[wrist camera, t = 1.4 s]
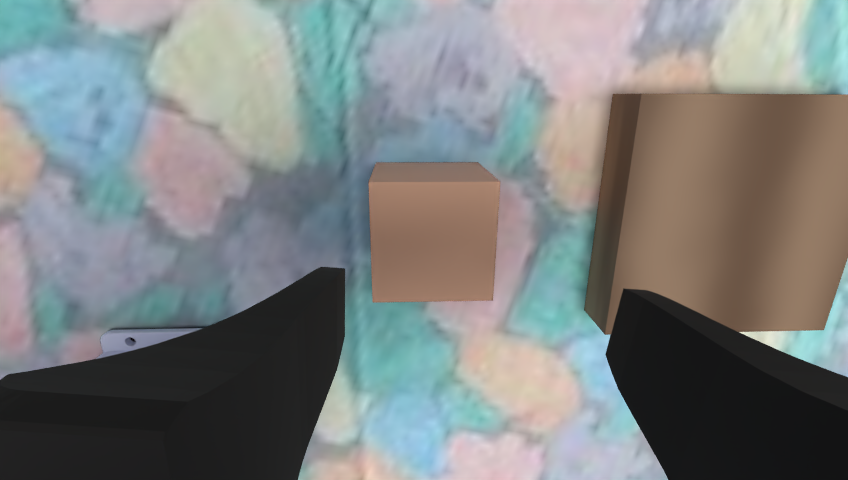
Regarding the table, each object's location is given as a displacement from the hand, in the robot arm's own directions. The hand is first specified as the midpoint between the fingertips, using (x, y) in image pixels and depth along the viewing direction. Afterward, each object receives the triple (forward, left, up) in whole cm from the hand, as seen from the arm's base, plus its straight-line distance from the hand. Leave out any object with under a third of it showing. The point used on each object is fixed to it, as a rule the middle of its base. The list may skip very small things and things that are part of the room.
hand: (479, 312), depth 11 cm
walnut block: (+13, 0, -11) cm, 17 cm away
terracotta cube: (-1, 0, -11) cm, 11 cm away
